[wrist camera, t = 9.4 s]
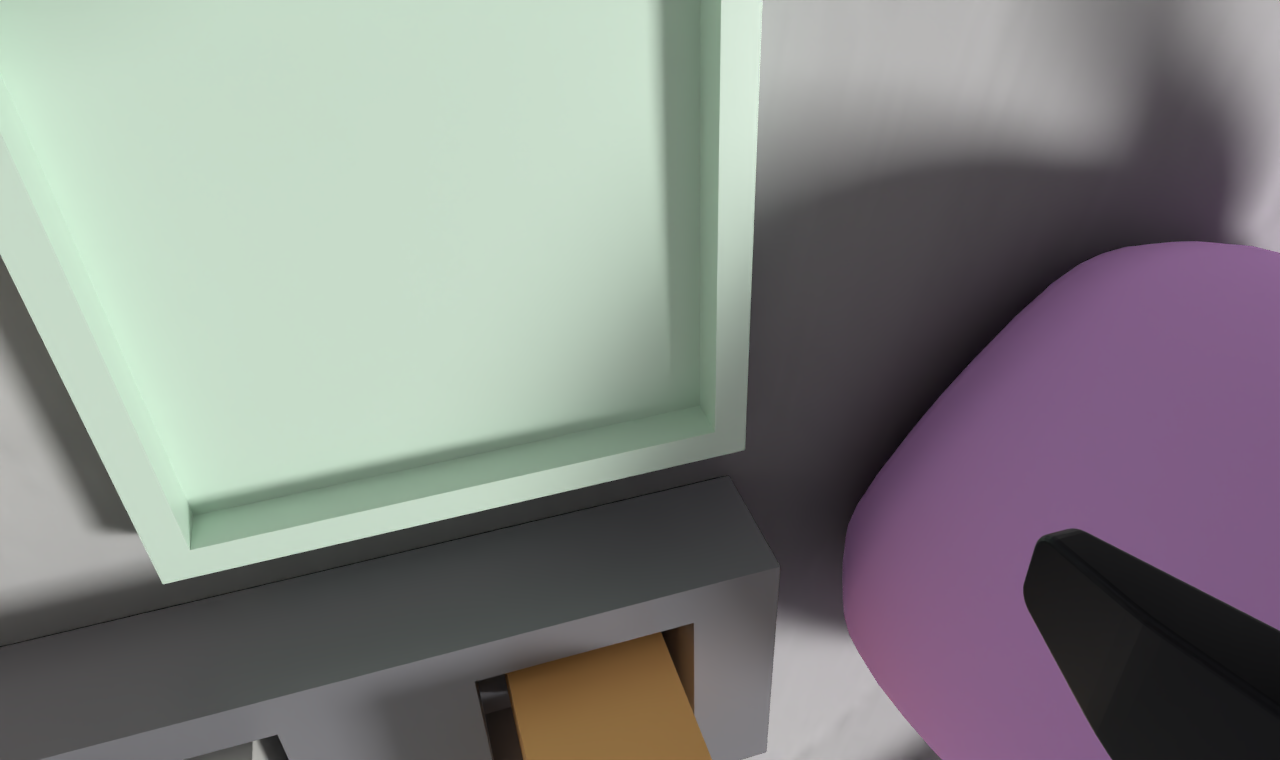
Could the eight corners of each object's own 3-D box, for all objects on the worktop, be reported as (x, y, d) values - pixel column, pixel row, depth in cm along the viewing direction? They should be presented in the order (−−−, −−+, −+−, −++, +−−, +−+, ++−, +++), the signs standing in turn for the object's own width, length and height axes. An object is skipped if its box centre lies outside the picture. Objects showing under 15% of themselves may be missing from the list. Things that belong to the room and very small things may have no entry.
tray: (736, -190, 17) (769, -182, 16) (723, 414, 25) (745, 450, 24) (-139, -122, 14) (-177, -104, 13) (169, 536, 22) (162, 584, 21)
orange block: (634, 564, 26) (724, 790, 21) (638, 655, 29) (721, 880, 23) (490, 599, 26) (546, 845, 20) (507, 691, 28) (561, 933, 23)
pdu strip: (728, 475, 26) (780, 566, 24) (724, 659, 31) (766, 752, 28) (-86, 667, 22) (-137, 805, 19) (53, 845, 27) (27, 976, 24)
